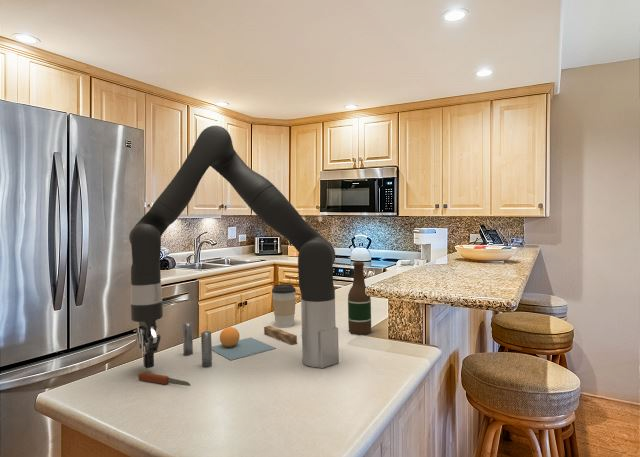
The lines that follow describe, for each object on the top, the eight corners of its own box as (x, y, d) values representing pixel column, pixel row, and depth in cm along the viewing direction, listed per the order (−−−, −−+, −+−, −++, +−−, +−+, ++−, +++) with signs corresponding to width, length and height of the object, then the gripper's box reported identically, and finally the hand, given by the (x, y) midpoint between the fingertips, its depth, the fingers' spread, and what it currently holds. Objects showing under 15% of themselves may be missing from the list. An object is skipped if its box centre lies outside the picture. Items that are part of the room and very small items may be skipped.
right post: (213, 365, 106) (212, 332, 105) (204, 368, 104) (203, 334, 104) (209, 363, 108) (208, 330, 107) (200, 365, 106) (199, 332, 106)
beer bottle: (370, 335, 130) (369, 263, 129) (347, 335, 131) (345, 263, 131) (372, 329, 137) (370, 260, 137) (350, 328, 139) (348, 260, 138)
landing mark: (276, 348, 119) (276, 347, 119) (230, 360, 109) (230, 359, 109) (250, 337, 130) (250, 337, 130) (207, 348, 121) (207, 347, 121)
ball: (226, 333, 117) (231, 351, 118) (240, 324, 122) (245, 342, 123) (213, 331, 121) (218, 349, 122) (228, 323, 125) (232, 340, 126)
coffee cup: (298, 321, 150) (297, 282, 150) (294, 328, 141) (293, 286, 141) (275, 321, 151) (274, 282, 150) (270, 328, 142) (269, 286, 141)
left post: (194, 353, 116) (193, 323, 116) (185, 355, 114) (184, 325, 114) (190, 351, 118) (190, 321, 118) (182, 353, 116) (181, 323, 116)
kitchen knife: (137, 381, 97) (137, 373, 97) (142, 379, 98) (141, 371, 98) (188, 390, 91) (188, 381, 91) (192, 388, 92) (192, 379, 92)
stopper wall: (296, 343, 123) (296, 335, 123) (291, 344, 122) (291, 336, 122) (269, 333, 136) (269, 325, 136) (264, 334, 134) (264, 326, 134)
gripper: (170, 302, 99) (172, 370, 100) (153, 295, 110) (155, 357, 110) (138, 307, 95) (141, 378, 95) (124, 299, 105) (126, 364, 105)
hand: (148, 367), depth 102 cm, fingers closed
